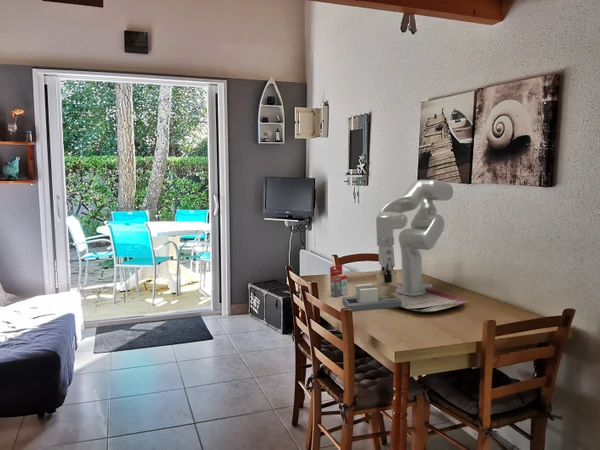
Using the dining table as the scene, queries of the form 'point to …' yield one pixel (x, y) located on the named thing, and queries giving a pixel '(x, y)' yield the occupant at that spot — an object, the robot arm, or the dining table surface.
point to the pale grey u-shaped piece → (367, 293)
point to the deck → (382, 303)
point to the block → (386, 285)
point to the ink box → (338, 281)
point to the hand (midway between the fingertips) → (386, 281)
